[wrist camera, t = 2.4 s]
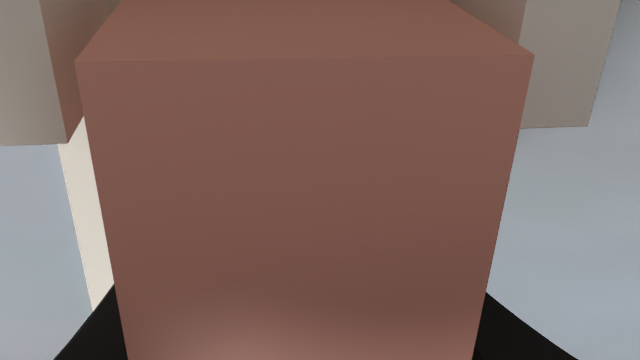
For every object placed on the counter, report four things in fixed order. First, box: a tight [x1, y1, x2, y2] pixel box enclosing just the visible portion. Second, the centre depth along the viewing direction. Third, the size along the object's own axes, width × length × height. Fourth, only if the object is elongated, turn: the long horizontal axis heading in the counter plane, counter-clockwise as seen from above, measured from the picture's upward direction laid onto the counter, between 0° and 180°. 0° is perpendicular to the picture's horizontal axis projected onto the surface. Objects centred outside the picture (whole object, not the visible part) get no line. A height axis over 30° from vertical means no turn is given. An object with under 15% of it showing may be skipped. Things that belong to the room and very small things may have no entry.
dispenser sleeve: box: [0, 0, 621, 311], centre depth 9 cm, size 8×19×4 cm, turn 178°
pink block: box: [74, 0, 535, 360], centre depth 10 cm, size 4×11×5 cm, turn 178°
